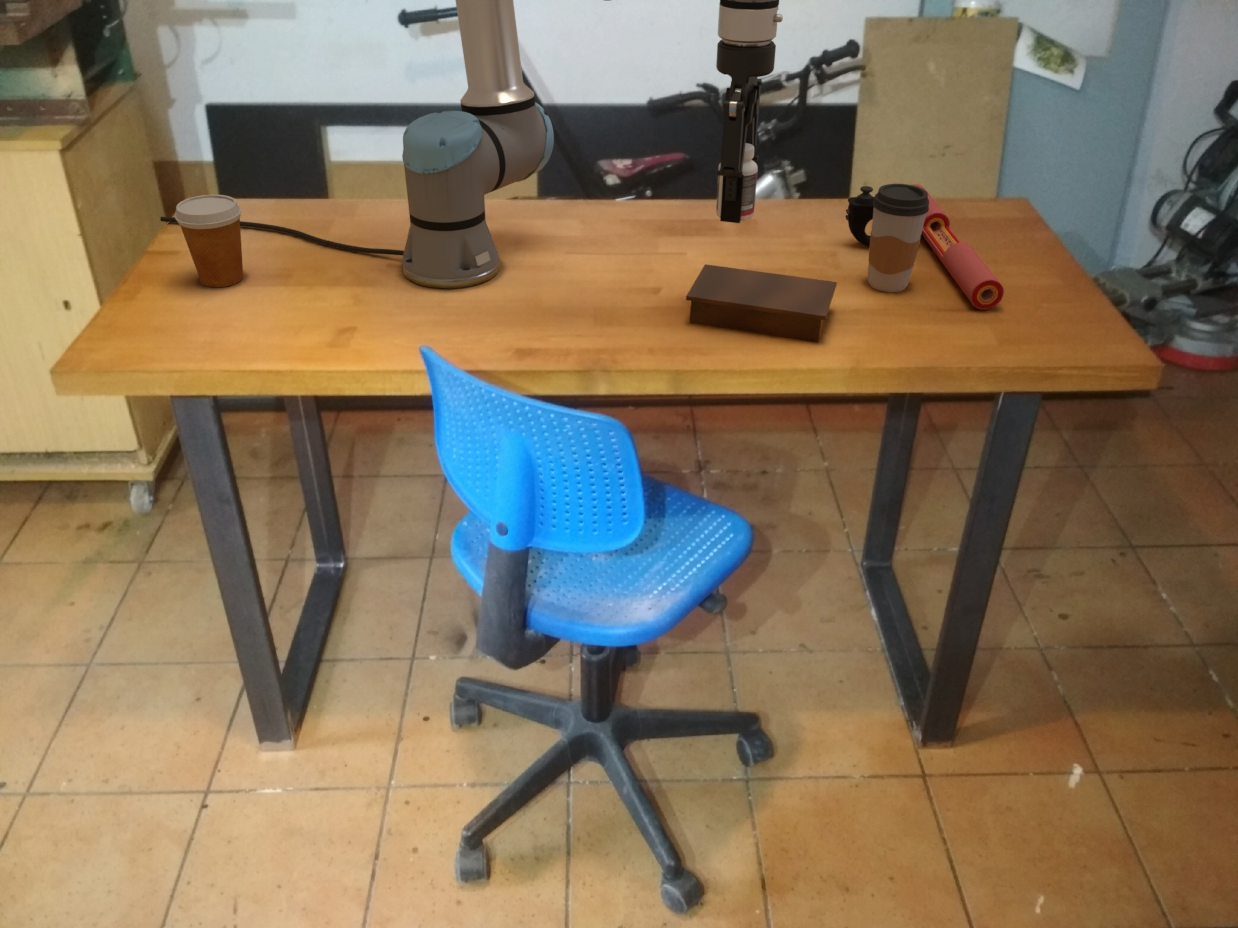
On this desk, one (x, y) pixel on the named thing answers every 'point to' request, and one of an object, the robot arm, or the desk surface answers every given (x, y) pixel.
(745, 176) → the pill bottle
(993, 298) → the blood vessel
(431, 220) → the robot arm
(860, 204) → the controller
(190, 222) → the disposable coffee cup
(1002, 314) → the desk surface
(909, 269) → the coffee cup
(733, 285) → the stand
